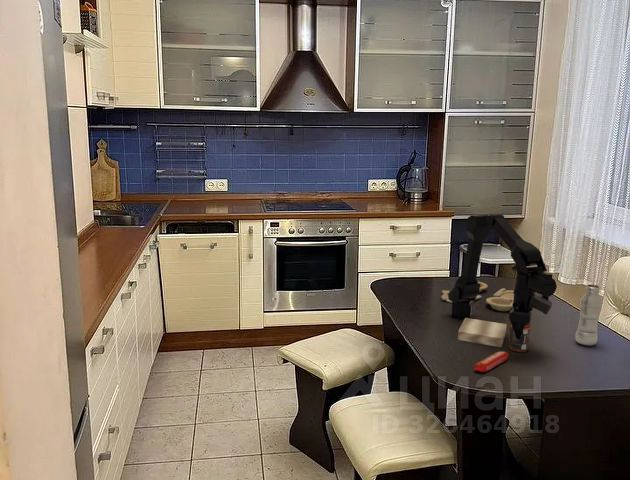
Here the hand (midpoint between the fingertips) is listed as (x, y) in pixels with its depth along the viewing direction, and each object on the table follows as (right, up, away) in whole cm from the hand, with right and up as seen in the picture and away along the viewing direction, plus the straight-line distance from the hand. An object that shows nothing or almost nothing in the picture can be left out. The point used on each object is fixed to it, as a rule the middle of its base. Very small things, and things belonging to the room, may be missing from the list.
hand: (519, 333), depth 182 cm
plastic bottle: (+24, -5, +6) cm, 25 cm away
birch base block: (-9, -3, +11) cm, 14 cm away
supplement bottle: (0, -5, +1) cm, 6 cm away
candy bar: (-12, -8, -11) cm, 18 cm away
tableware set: (+5, +5, +50) cm, 51 cm away
